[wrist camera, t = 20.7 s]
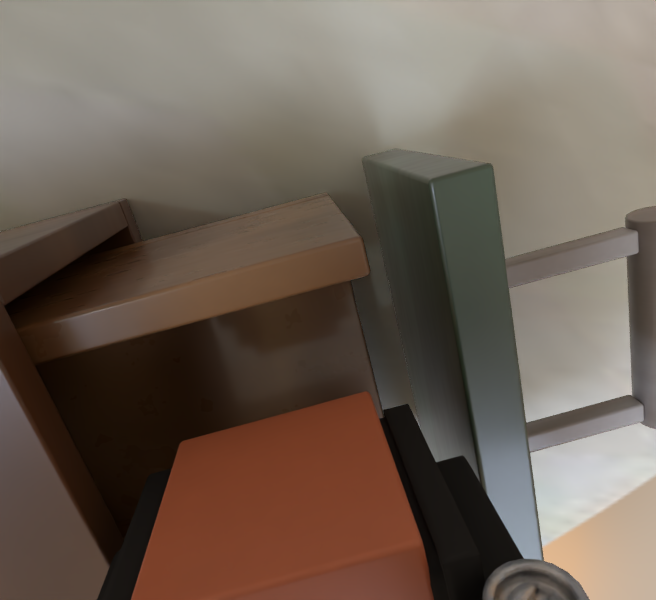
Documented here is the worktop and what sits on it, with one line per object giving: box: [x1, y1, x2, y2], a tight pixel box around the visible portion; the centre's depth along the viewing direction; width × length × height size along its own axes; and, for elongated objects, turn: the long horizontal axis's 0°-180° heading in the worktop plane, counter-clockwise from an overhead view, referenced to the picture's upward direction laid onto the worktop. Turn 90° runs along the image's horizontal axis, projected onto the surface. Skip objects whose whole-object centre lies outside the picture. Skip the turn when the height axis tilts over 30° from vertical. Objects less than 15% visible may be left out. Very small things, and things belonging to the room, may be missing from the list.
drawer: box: [4, 149, 656, 561], centre depth 14 cm, size 19×11×7 cm, turn 104°
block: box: [131, 391, 434, 600], centre depth 9 cm, size 4×4×4 cm
